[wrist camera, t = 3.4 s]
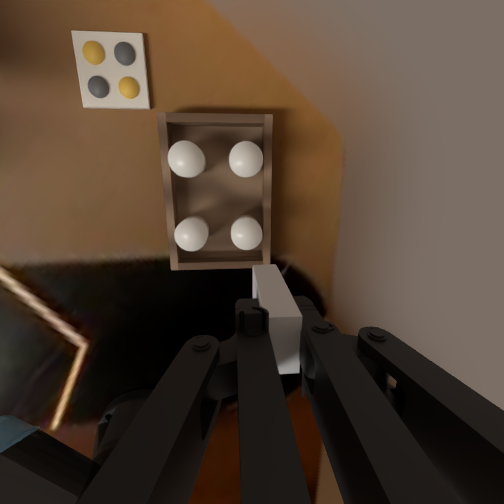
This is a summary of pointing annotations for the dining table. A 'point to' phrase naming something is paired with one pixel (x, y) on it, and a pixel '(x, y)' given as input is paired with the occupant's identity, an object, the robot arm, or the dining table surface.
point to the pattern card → (111, 69)
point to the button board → (217, 187)
